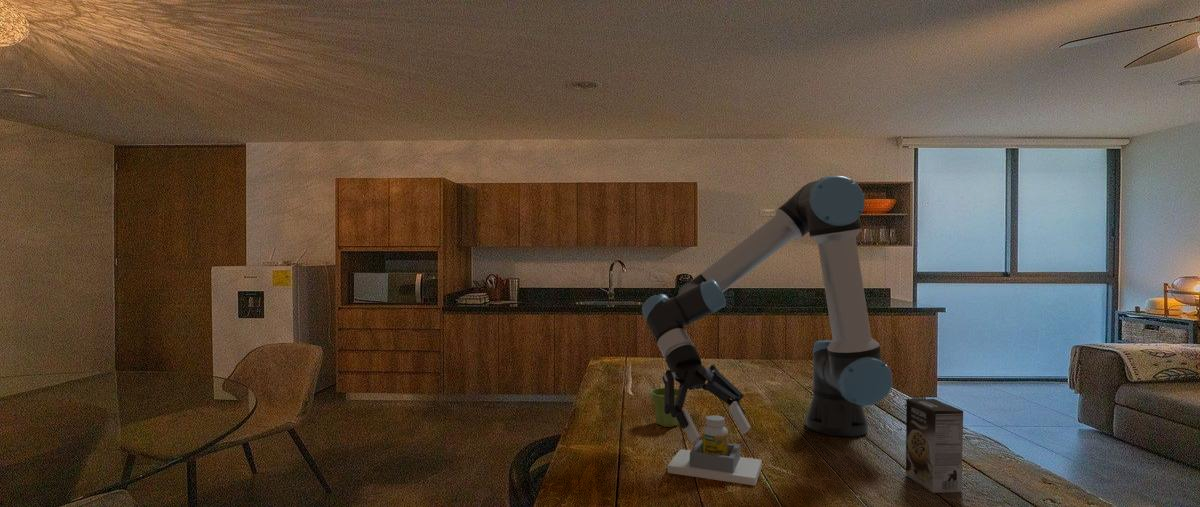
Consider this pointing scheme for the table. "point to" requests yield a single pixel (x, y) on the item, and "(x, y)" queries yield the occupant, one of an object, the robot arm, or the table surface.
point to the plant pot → (660, 415)
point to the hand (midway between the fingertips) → (721, 435)
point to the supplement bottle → (715, 436)
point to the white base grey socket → (716, 465)
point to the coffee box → (934, 445)
